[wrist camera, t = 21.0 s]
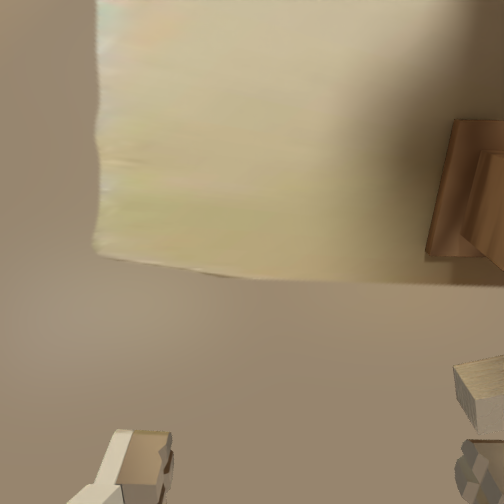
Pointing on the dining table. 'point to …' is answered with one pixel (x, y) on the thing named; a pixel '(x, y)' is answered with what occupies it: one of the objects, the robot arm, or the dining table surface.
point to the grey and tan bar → (482, 393)
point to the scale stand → (471, 194)
